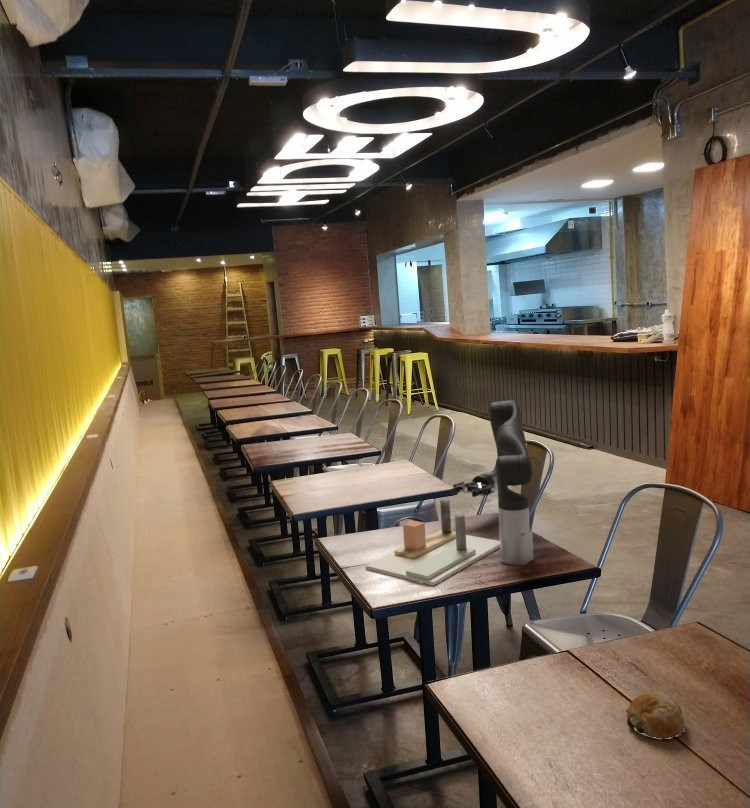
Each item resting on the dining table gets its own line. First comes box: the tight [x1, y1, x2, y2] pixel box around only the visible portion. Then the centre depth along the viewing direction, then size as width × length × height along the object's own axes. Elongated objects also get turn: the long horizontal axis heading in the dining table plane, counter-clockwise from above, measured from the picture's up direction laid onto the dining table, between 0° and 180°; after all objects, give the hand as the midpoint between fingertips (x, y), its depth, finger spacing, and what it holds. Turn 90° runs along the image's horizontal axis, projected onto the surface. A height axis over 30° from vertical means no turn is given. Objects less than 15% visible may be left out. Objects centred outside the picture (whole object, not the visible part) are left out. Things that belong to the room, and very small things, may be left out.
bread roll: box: [625, 691, 686, 739], centre depth 132 cm, size 10×10×8 cm
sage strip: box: [406, 513, 476, 580], centre depth 217 cm, size 8×26×12 cm, turn 140°
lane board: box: [365, 534, 500, 586], centre depth 228 cm, size 26×40×1 cm, turn 140°
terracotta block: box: [402, 520, 426, 551], centre depth 230 cm, size 5×5×8 cm
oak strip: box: [393, 499, 456, 559], centre depth 235 cm, size 8×26×12 cm, turn 140°
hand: (462, 492), depth 250 cm, fingers open, 8 cm apart
